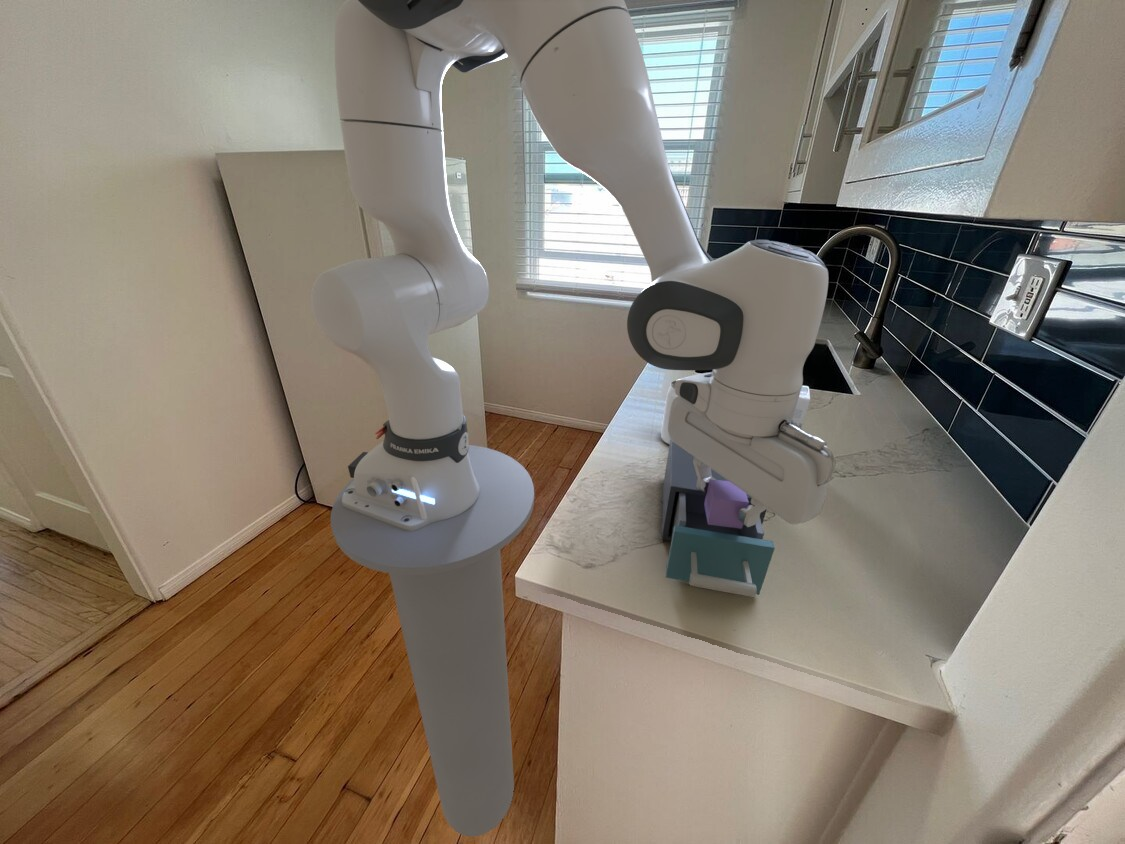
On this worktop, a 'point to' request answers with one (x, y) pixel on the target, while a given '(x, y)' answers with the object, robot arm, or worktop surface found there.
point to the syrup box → (801, 407)
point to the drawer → (716, 550)
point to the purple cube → (724, 504)
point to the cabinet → (682, 484)
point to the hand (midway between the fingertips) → (724, 505)
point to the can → (668, 412)
